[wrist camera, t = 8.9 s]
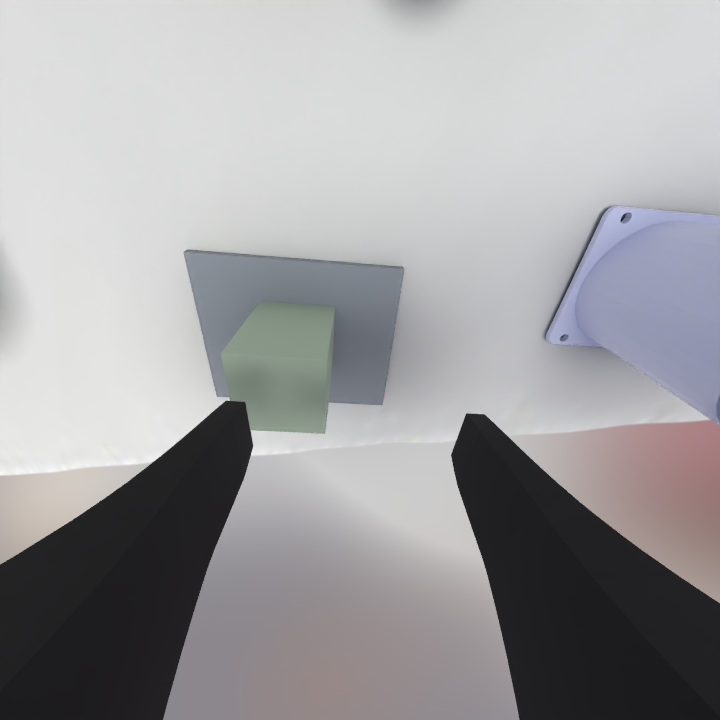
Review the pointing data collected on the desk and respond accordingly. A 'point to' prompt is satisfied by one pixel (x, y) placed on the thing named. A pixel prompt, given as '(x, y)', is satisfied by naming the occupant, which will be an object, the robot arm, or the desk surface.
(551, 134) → the desk surface
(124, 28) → the desk surface
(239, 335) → the green block
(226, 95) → the desk surface
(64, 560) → the robot arm
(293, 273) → the mat
